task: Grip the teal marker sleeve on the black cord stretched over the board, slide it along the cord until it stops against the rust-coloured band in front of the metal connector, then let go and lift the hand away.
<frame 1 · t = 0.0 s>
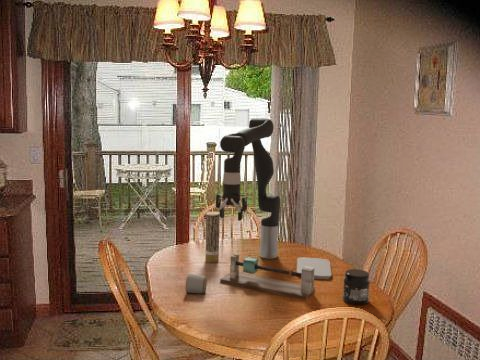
hand: (230, 219, 200), 29 cm above the table, tool pointing down, fingers open, 8 cm apart
paper tube: (212, 261, 234), on the table
ceramic mug: (196, 291, 195), on the table
marker sleeve: (250, 265, 204), point 8 cm above the table, slide at -8.0 cm
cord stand: (266, 286, 202), on the table
supplement container: (355, 301, 189), on the table
tablet: (313, 270, 225), on the table
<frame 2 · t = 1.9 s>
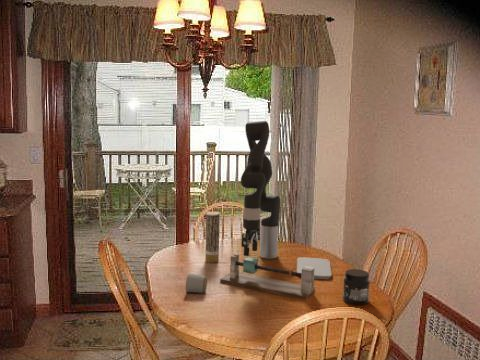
hand: (250, 253, 203), 14 cm above the table, tool pointing down, fingers open, 8 cm apart
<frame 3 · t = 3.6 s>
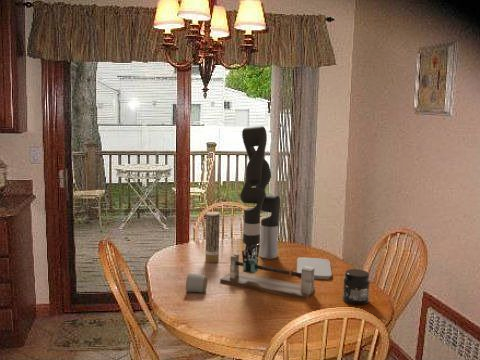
hand: (250, 269, 204), 6 cm above the table, tool pointing down, fingers closed on marker sleeve, 4 cm apart
marker sleeve: (250, 265, 204), point 8 cm above the table, slide at -8.0 cm, touching gripper
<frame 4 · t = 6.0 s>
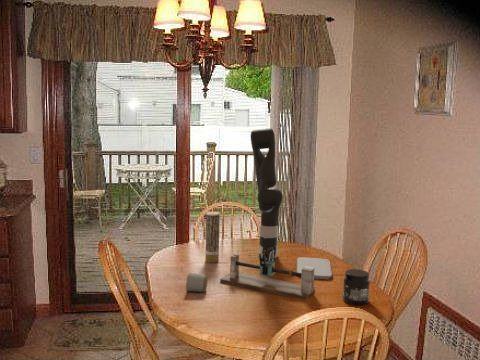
hand: (267, 272, 201), 6 cm above the table, tool pointing down, fingers closed on marker sleeve, 4 cm apart
marker sleeve: (267, 268, 200), point 8 cm above the table, slide at 0.1 cm, touching gripper
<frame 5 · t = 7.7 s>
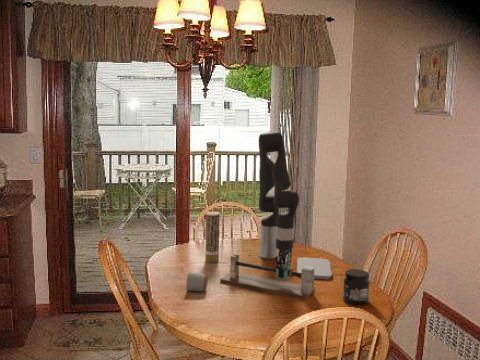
hand: (283, 275, 197), 6 cm above the table, tool pointing down, fingers closed on marker sleeve, 4 cm apart
marker sleeve: (283, 271, 197), point 8 cm above the table, slide at 7.5 cm, touching gripper
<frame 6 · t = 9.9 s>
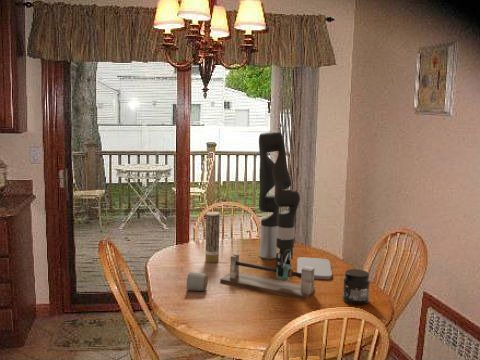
hand: (283, 273, 197), 8 cm above the table, tool pointing down, fingers open, 8 cm apart
marker sleeve: (283, 271, 197), point 8 cm above the table, slide at 7.7 cm
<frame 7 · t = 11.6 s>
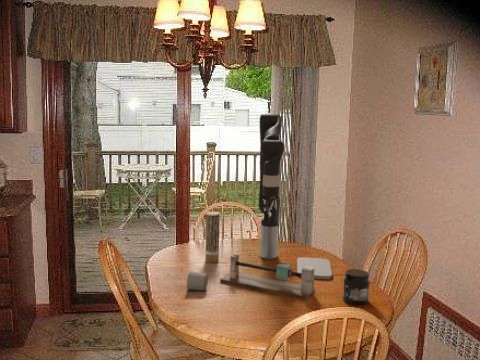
hand: (269, 219, 208), 28 cm above the table, tool pointing down, fingers open, 8 cm apart
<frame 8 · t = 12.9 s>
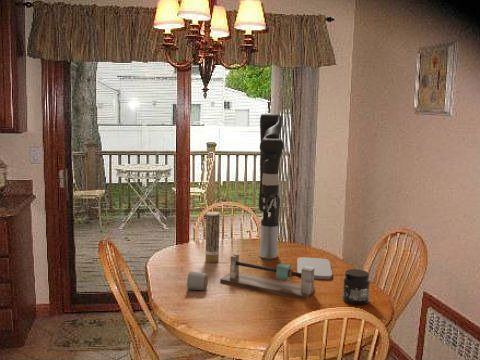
hand: (269, 218, 208), 28 cm above the table, tool pointing down, fingers open, 8 cm apart
at the end: marker sleeve slide at 7.7 cm; the gripper is holding nothing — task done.
